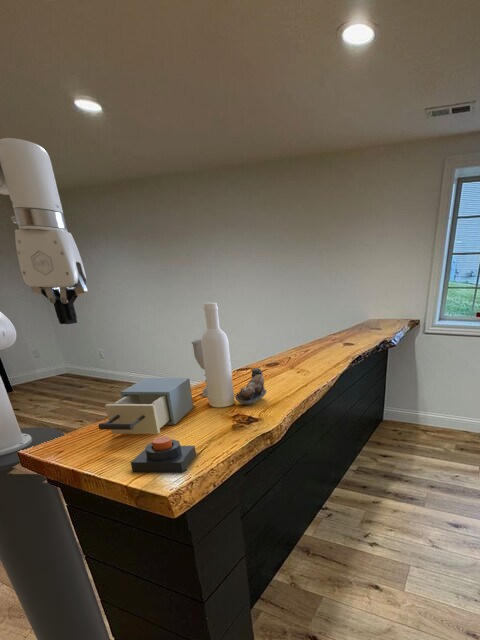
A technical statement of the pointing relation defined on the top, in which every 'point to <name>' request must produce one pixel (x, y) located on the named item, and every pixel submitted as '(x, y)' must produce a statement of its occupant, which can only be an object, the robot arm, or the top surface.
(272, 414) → the top surface
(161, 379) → the drawer cabinet
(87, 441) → the top surface
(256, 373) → the brown figurine on dish
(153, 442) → the button
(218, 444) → the top surface
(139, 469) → the control block
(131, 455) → the top surface
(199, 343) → the chalice
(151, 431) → the cream drawer
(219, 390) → the bottle
